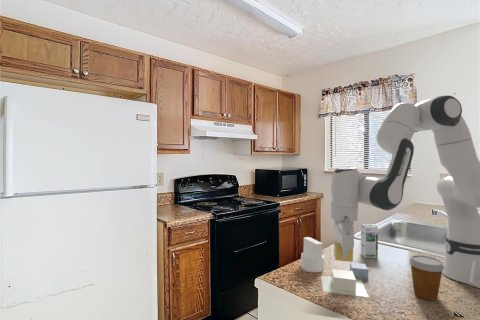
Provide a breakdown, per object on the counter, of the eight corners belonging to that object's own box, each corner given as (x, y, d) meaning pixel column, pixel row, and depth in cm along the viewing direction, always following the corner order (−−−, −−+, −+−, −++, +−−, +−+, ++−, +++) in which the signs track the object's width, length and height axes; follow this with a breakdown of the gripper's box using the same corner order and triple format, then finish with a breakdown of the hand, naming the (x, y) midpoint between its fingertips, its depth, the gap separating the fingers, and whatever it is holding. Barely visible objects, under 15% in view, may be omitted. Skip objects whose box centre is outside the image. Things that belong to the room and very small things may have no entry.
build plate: (361, 283, 97) (361, 280, 97) (368, 300, 85) (369, 297, 85) (321, 278, 100) (321, 275, 100) (323, 294, 88) (323, 291, 88)
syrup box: (364, 258, 121) (365, 226, 121) (360, 253, 127) (360, 223, 127) (377, 258, 120) (378, 226, 120) (372, 254, 126) (373, 223, 126)
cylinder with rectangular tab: (296, 267, 110) (297, 238, 110) (314, 264, 113) (315, 236, 113) (309, 276, 102) (309, 245, 102) (328, 273, 105) (329, 242, 105)
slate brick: (364, 275, 104) (365, 263, 103) (368, 281, 98) (368, 269, 98) (349, 273, 105) (349, 262, 105) (352, 279, 100) (352, 267, 99)
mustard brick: (350, 256, 94) (350, 243, 94) (352, 261, 89) (353, 248, 89) (333, 254, 96) (334, 241, 96) (335, 260, 90) (335, 246, 90)
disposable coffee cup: (442, 307, 82) (443, 268, 81) (406, 296, 88) (407, 260, 88) (444, 295, 89) (445, 259, 89) (410, 285, 95) (411, 252, 95)
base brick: (352, 282, 95) (352, 271, 95) (355, 291, 88) (356, 279, 88) (331, 279, 97) (331, 268, 97) (333, 289, 90) (333, 277, 90)
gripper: (359, 221, 81) (358, 266, 82) (349, 209, 101) (348, 245, 101) (338, 219, 83) (336, 264, 83) (331, 207, 103) (330, 243, 103)
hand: (343, 253), depth 92 cm, fingers closed on mustard brick, 5 cm apart
